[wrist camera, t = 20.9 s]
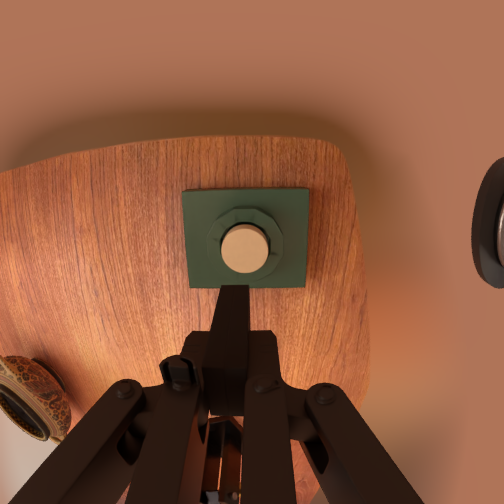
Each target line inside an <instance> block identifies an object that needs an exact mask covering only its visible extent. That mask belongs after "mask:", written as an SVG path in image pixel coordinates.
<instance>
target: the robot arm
mask: <svg viewBox="0 0 504 504" xmlns="http://www.w3.org/2000/svg"><path fill="white" fill-rule="evenodd" d="M494 251H495V255H496V258H497V261H498V263H499V264H500V265H501V266H502V267H503V268H504V193H503V195H502V198H501V200H500V203H499V206H498V209H497V213H496V218H495V224H494ZM159 367H160V370H161V374H162V377H163V380H164V383H163V384H161V385H157V386H151V387H143V388H142V386H141V384H140V383H139V382H137V381H136V380H132V379H122V380H120V381H117V382H115V383H114V384H113V385H112V386H111V387H110V388H109V389H108V390H107V391H106V392H105V393H104V394H103V396H102V397H101V398H100V399H99V400H98V401H97V402H96V403H95V404H94V406H93V407H92V408H91V409H90V410H89V411H88V412H87V413H86V414H85V416H84V417H83V418H82V419H81V420H80V421H79V422H78V423H77V425H76V426H75V427H74V428H73V429H72V430H71V431H70V432H69V434H68V435H67V436H66V437H65V438H64V439H63V440H62V442H61V443H60V444H59V445H58V446H57V447H56V448H55V450H54V451H53V452H52V453H51V454H50V455H49V457H48V458H47V459H46V460H45V461H44V462H43V463H42V464H41V466H40V467H39V468H38V469H37V470H36V471H35V473H34V474H33V475H32V476H31V477H30V478H29V480H28V481H27V482H26V483H25V484H24V485H23V487H22V488H21V489H20V490H19V491H18V492H17V494H16V495H15V496H14V497H13V498H12V500H11V501H10V502H9V503H8V504H116V503H117V501H118V500H119V498H120V497H121V495H122V494H123V492H124V491H125V489H126V488H127V486H128V485H129V483H130V482H131V484H130V487H129V490H128V494H127V497H126V501H125V504H199V500H200V493H201V485H202V477H203V469H204V462H205V455H206V447H207V440H208V433H209V420H208V414H209V410H210V414H211V415H215V416H244V420H243V447H242V473H241V500H240V504H297V502H296V491H295V481H294V471H293V461H292V452H291V443H290V439H293V440H298V441H299V443H300V445H301V447H302V449H303V451H304V453H305V455H306V457H307V459H308V462H309V464H310V466H311V468H312V470H313V472H314V474H315V476H316V478H317V480H318V482H319V484H320V486H321V488H322V490H323V492H324V494H325V496H326V498H327V500H328V502H329V504H424V503H423V501H422V500H421V499H420V497H419V496H418V494H417V493H416V492H415V490H414V489H413V488H412V486H411V485H410V483H409V482H408V481H407V479H406V478H405V477H404V475H403V474H402V472H401V471H400V470H399V468H398V467H397V465H396V464H395V463H394V461H393V460H392V459H391V457H390V456H389V454H388V453H387V452H386V450H385V449H384V447H383V446H382V445H381V443H380V442H379V440H378V439H377V438H376V436H375V435H374V433H373V432H372V431H371V429H370V428H369V426H368V425H367V424H366V423H365V421H364V419H363V418H362V417H361V415H360V414H359V412H358V411H357V410H356V408H355V407H354V405H353V404H352V403H351V401H350V400H349V398H348V397H347V396H346V394H345V393H344V391H343V390H342V389H341V388H340V387H338V386H336V385H334V384H331V383H318V384H316V385H313V386H311V387H310V388H309V389H308V390H303V389H297V388H294V387H291V386H289V385H288V384H286V383H285V382H284V381H283V379H282V377H281V372H280V363H279V355H278V347H277V338H276V336H275V335H274V333H273V332H272V331H271V330H259V331H250V296H249V285H221V288H220V292H219V296H218V300H217V304H216V308H215V312H214V316H213V320H212V324H211V329H210V331H192V332H191V333H190V334H189V335H188V336H187V337H186V339H185V342H184V346H183V348H182V352H181V353H180V355H173V356H170V357H167V358H166V359H164V360H163V361H162V362H161V363H160V365H159Z"/></svg>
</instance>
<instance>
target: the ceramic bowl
mask: <svg viewBox="0 0 504 504" xmlns="http://www.w3.org/2000/svg"><path fill="white" fill-rule="evenodd" d="M65 392H66V389H65V385H64V383H63V381H62V379H61V378H60V376H59V375H58V374H57V373H56V371H55V370H54V369H53V368H52V367H51V366H49V365H48V364H47V363H45V362H44V361H43V360H40V359H38V358H32V359H31V360H30V359H28V358H25V357H21V356H7V357H4V358H3V357H2V356H1V355H0V408H1V410H2V411H3V412H4V413H5V414H6V415H7V416H8V418H9V419H10V420H11V421H13V423H15V424H16V425H17V426H18V427H19V428H20V429H22V430H23V431H24V432H26V433H27V434H29V435H30V436H32V437H34V438H36V439H38V440H41V441H47V440H48V438H49V439H50V440H52V441H53V442H54V443H56V444H57V445H59V444H60V443H61V442H62V440H63V439H64V438H65V437H66V436H67V431H68V430H69V428H70V425H71V410H70V406H69V402H68V400H67V397H66V395H65ZM57 437H59V438H60V439H61V440H60V439H59V438H57Z"/></svg>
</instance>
